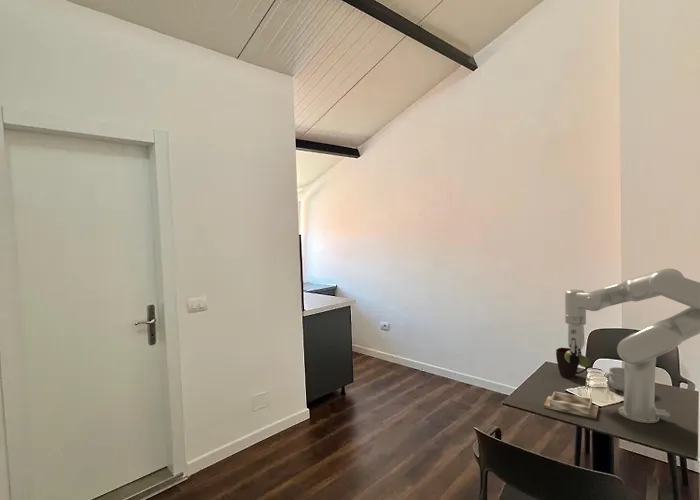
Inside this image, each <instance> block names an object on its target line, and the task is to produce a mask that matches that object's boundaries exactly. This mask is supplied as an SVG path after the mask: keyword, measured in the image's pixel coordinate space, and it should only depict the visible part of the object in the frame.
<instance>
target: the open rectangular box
mask: <svg viewBox="0 0 700 500" xmlns="http://www.w3.org/2000/svg"><path fill="white" fill-rule="evenodd" d="M543 408H545V409H550V410H554V411H559V412H563V413H568V414H573V415H577V416H581V417H586V418H592V419H597V417H598V411H599V406H598V405H595V404H593V398H591V397H585V396H581V395H576V394H570V393H564V392H560V391H553V393H552V394H551V396H550V395H548V396H547V398H546V401H544V403H543Z"/></svg>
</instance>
